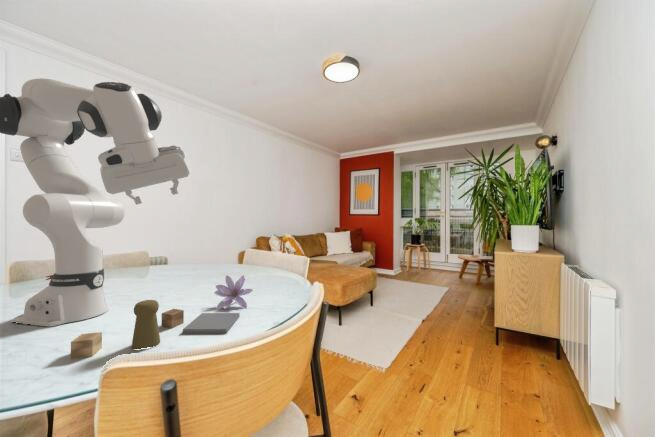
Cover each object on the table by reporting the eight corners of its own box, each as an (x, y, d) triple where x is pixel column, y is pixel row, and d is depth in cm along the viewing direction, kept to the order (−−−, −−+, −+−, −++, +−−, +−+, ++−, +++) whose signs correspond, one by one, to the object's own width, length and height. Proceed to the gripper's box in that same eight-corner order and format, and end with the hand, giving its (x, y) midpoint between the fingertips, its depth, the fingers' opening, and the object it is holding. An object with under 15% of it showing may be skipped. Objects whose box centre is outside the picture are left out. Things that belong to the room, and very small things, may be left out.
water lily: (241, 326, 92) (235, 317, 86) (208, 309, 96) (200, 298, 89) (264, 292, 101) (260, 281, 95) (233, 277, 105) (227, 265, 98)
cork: (141, 339, 68) (141, 297, 68) (165, 338, 68) (165, 297, 68) (125, 351, 62) (125, 305, 62) (151, 350, 62) (152, 305, 62)
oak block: (70, 359, 58) (70, 341, 58) (81, 350, 62) (81, 334, 62) (92, 356, 59) (92, 339, 59) (101, 348, 63) (101, 332, 63)
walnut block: (161, 326, 76) (161, 313, 76) (173, 321, 79) (173, 308, 79) (171, 328, 74) (172, 315, 74) (183, 323, 78) (183, 310, 78)
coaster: (182, 333, 71) (182, 329, 71) (202, 316, 83) (202, 313, 83) (226, 333, 72) (226, 329, 72) (239, 316, 84) (239, 313, 84)
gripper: (178, 142, 76) (191, 185, 83) (90, 156, 65) (114, 205, 72) (184, 146, 72) (197, 191, 79) (91, 162, 61) (116, 213, 67)
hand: (157, 198), depth 75 cm, fingers open, 8 cm apart
